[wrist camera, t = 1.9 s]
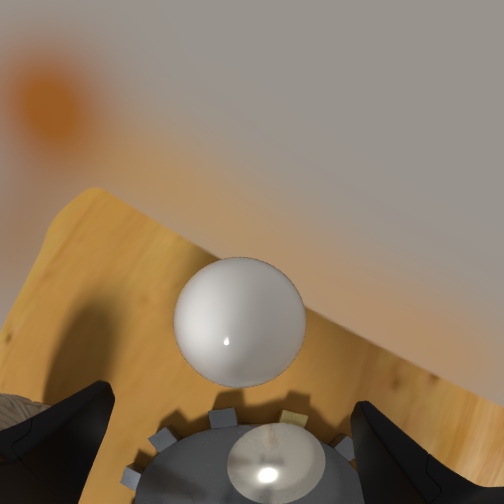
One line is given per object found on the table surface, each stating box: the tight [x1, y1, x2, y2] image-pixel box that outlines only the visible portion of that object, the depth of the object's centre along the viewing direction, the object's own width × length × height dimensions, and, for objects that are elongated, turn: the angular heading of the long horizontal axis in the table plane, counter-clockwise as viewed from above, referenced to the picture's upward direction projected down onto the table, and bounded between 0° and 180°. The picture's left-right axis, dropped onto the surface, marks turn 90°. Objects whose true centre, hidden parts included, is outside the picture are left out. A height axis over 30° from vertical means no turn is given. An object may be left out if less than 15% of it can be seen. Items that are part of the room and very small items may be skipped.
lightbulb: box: [173, 257, 306, 388], centre depth 15 cm, size 6×6×11 cm
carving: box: [0, 393, 51, 431], centre depth 10 cm, size 6×8×12 cm
